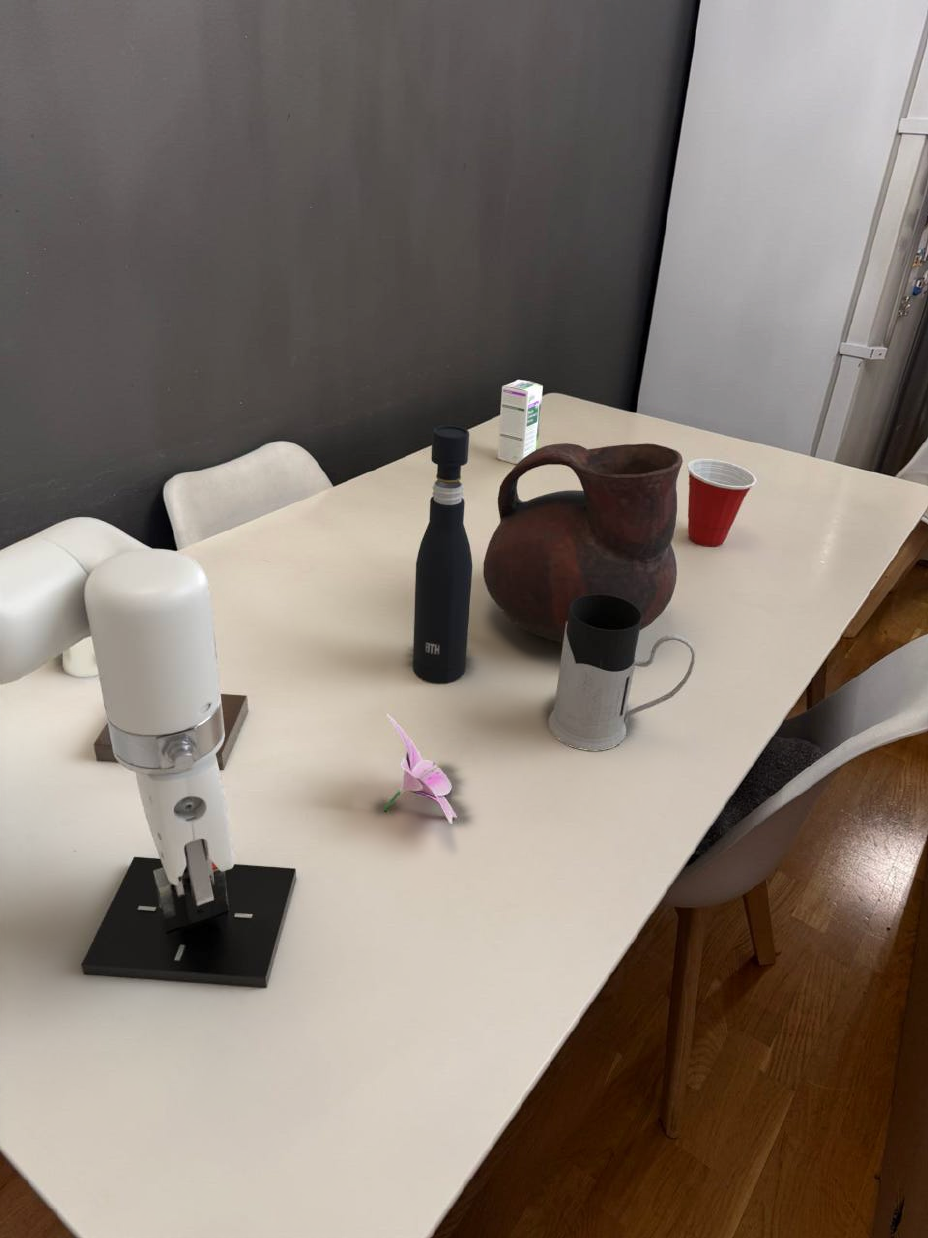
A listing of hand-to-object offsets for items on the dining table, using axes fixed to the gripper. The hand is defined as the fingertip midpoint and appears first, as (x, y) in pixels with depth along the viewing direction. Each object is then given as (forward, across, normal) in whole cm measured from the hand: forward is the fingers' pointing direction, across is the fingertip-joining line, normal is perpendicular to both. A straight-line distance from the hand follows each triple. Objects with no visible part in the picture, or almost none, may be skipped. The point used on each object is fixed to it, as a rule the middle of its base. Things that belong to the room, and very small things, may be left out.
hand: (193, 905), depth 71 cm
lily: (+4, +5, -23) cm, 24 cm away
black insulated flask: (+4, +26, -36) cm, 45 cm away
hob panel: (+3, 0, 0) cm, 3 cm away
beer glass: (+4, +44, +2) cm, 44 cm away
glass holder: (+4, +8, -48) cm, 48 cm away
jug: (+4, +30, -57) cm, 65 cm away
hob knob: (+1, 0, 0) cm, 1 cm away
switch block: (+3, +27, -4) cm, 27 cm away
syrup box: (+4, +85, -82) cm, 118 cm away
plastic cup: (+4, +42, -93) cm, 102 cm away
